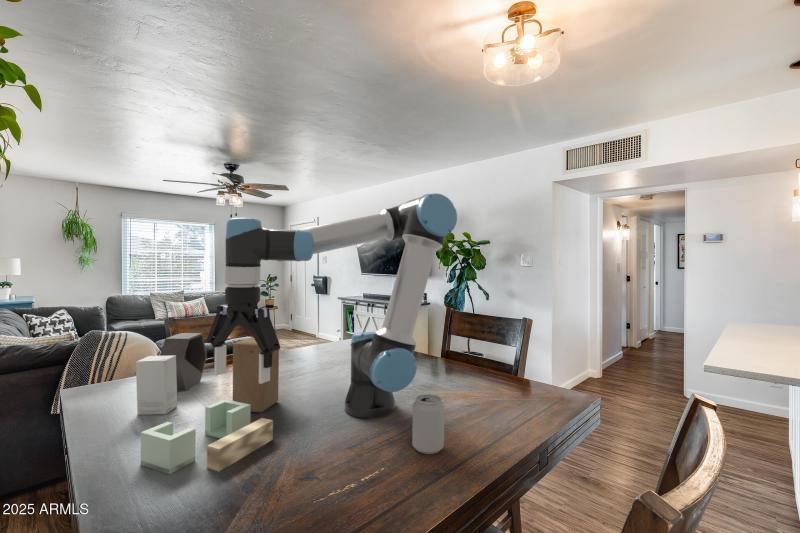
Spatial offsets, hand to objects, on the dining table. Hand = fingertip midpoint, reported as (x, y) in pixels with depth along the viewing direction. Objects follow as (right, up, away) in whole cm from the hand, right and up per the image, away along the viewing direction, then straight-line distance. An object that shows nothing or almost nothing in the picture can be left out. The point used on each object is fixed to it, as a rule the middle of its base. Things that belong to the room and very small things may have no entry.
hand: (241, 377), depth 88 cm
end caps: (-10, -17, +2) cm, 20 cm away
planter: (-40, -16, +46) cm, 63 cm away
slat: (0, -17, -1) cm, 17 cm away
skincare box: (-34, -17, +23) cm, 44 cm away
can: (+43, -18, +3) cm, 47 cm away
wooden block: (-7, -17, +28) cm, 33 cm away
